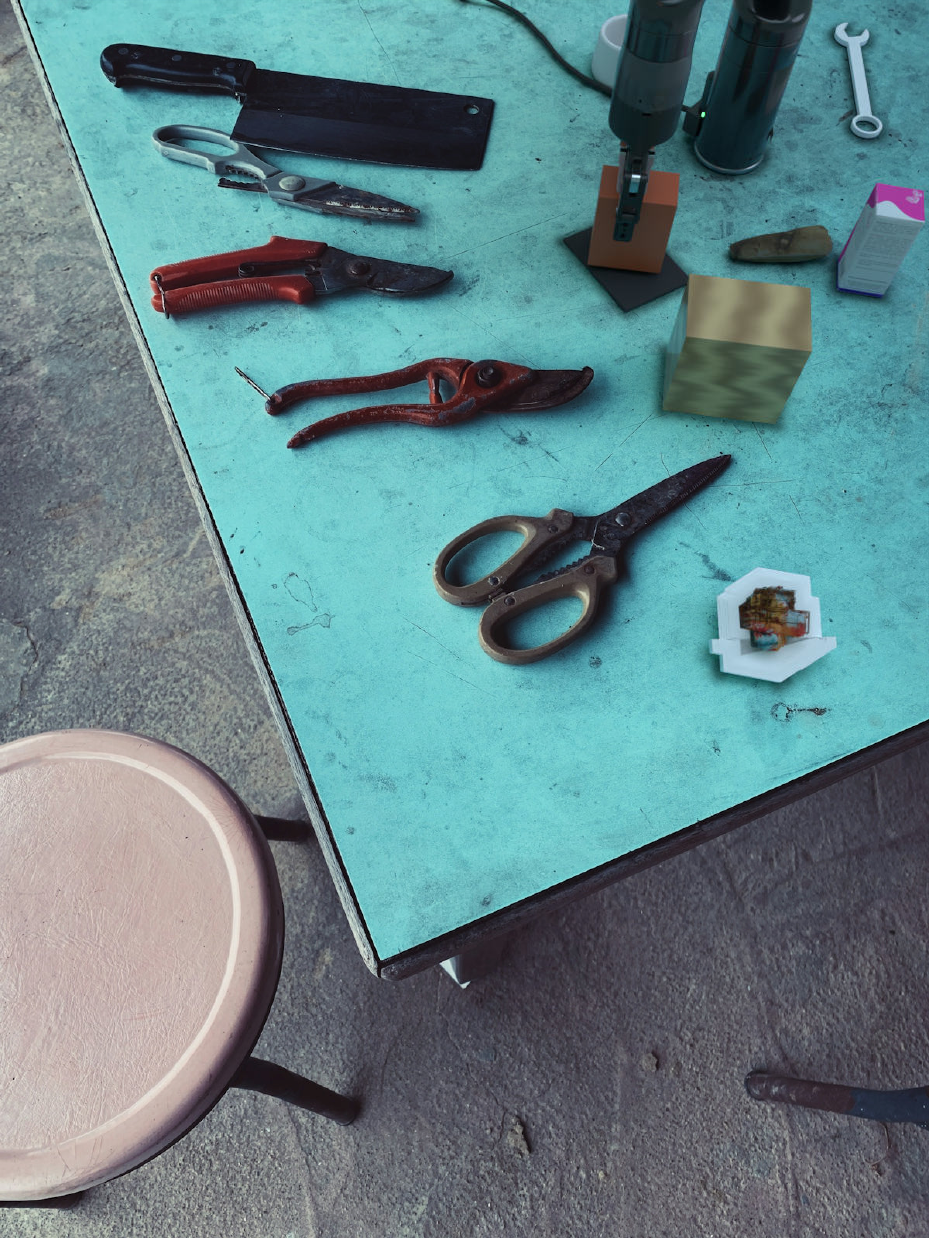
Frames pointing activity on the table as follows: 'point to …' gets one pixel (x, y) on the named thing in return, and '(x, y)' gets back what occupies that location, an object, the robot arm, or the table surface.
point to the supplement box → (880, 240)
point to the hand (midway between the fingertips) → (624, 214)
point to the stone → (784, 246)
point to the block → (647, 234)
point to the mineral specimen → (769, 626)
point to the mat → (628, 276)
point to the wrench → (858, 80)
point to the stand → (737, 348)
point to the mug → (608, 49)
